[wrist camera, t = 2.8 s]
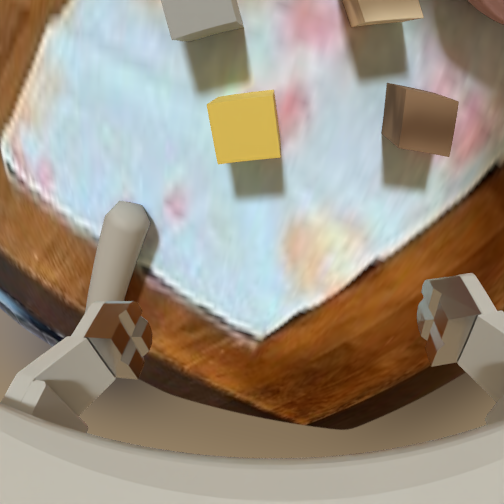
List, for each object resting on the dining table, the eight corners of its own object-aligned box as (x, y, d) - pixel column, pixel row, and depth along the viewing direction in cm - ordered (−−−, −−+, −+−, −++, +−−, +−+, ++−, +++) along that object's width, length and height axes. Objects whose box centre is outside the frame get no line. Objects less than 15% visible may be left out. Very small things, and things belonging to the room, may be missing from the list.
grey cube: (176, -4, 21) (157, -14, 16) (231, -20, 20) (221, -34, 16) (189, 41, 23) (171, 39, 19) (243, 27, 22) (236, 21, 18)
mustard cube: (218, 96, 26) (206, 104, 22) (273, 89, 26) (272, 95, 21) (227, 147, 29) (217, 164, 25) (280, 141, 28) (280, 157, 24)
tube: (97, 200, 29) (74, 334, 42) (134, 230, 29) (99, 357, 42) (131, 187, 33) (96, 316, 47) (165, 213, 33) (120, 337, 46)
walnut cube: (386, 82, 24) (406, 88, 20) (433, 92, 23) (458, 101, 19) (381, 133, 27) (398, 148, 23) (426, 140, 26) (449, 157, 22)
